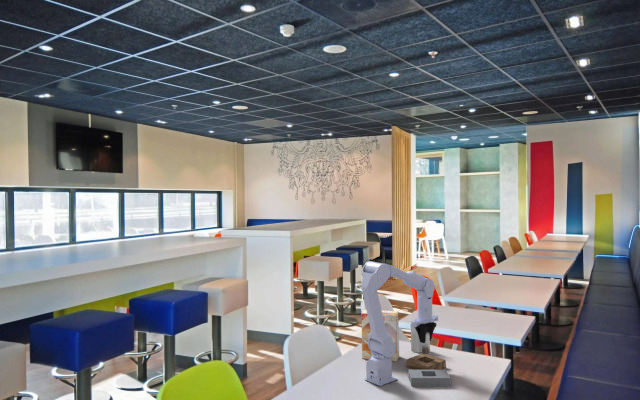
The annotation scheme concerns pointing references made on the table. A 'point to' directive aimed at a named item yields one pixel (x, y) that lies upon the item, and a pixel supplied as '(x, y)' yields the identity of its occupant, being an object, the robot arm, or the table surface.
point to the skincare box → (415, 341)
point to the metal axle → (426, 344)
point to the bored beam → (429, 378)
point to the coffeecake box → (391, 326)
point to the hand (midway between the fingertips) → (425, 341)
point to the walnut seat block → (425, 362)
